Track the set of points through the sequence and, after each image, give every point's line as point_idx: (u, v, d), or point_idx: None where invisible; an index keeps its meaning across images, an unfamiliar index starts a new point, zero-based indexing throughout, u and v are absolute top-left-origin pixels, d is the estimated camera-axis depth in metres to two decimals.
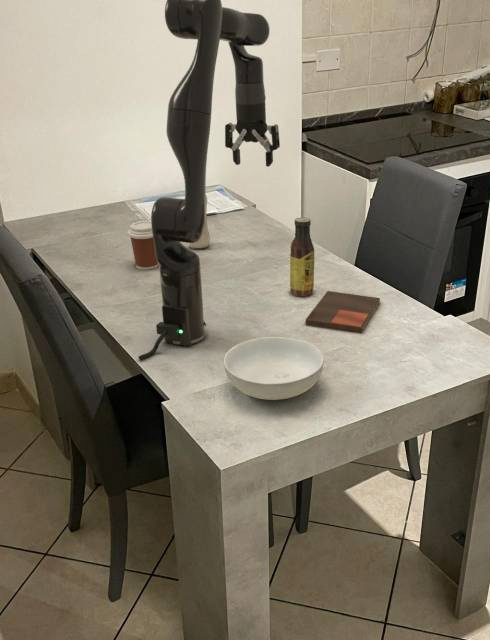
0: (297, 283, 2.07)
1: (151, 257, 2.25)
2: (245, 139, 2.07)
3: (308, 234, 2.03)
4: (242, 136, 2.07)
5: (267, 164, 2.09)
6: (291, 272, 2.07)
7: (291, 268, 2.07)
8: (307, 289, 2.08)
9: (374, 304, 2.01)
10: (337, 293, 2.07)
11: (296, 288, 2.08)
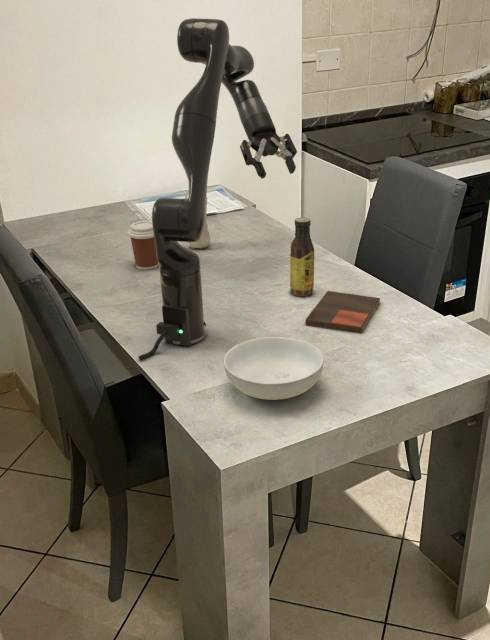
0: (297, 283, 2.07)
1: (151, 257, 2.25)
2: (265, 150, 2.05)
3: (308, 234, 2.03)
4: (263, 145, 2.04)
5: (293, 167, 2.07)
6: (291, 272, 2.07)
7: (291, 268, 2.07)
8: (307, 289, 2.08)
9: (374, 304, 2.01)
10: (337, 293, 2.07)
11: (296, 288, 2.08)
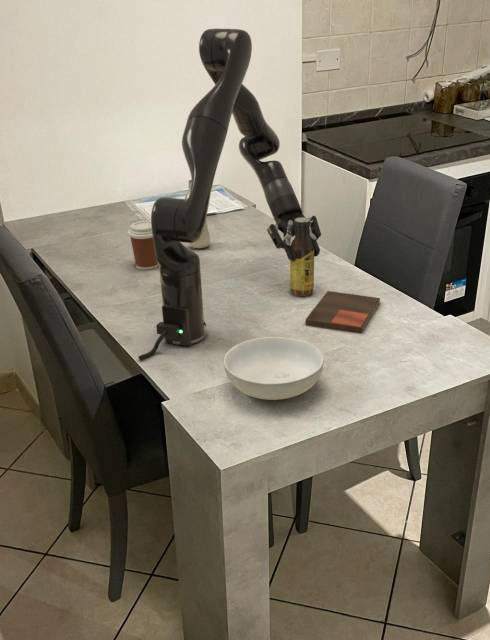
0: (297, 283, 2.07)
1: (151, 257, 2.25)
2: (293, 231, 2.05)
3: (308, 234, 2.02)
4: (290, 228, 2.04)
5: (318, 251, 2.06)
6: (291, 272, 2.07)
7: (291, 268, 2.07)
8: (307, 289, 2.08)
9: (374, 304, 2.01)
10: (337, 293, 2.07)
11: (296, 288, 2.08)
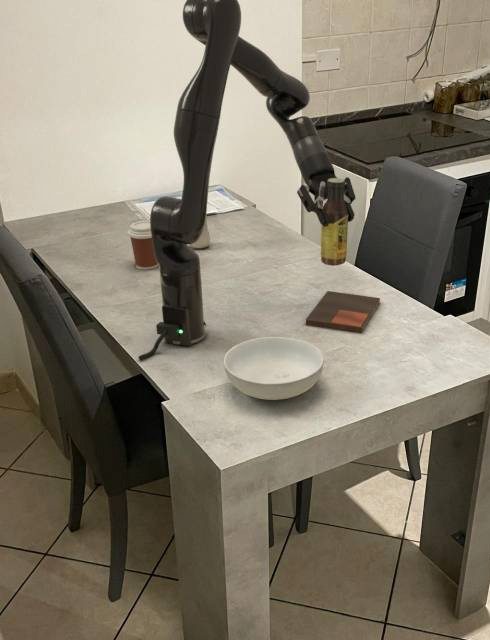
0: (329, 251, 1.89)
1: (151, 257, 2.25)
2: (325, 193, 1.87)
3: (342, 196, 1.85)
4: (323, 189, 1.86)
5: (352, 215, 1.88)
6: (322, 239, 1.89)
7: (322, 234, 1.89)
8: (340, 257, 1.90)
9: (374, 304, 2.01)
10: (337, 293, 2.07)
11: (328, 256, 1.90)
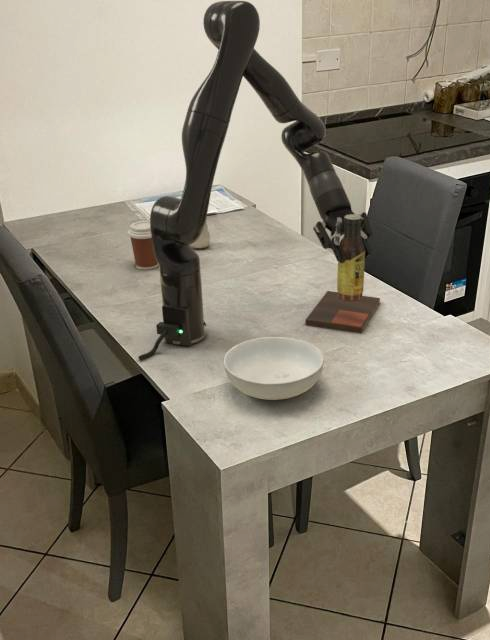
0: (346, 287, 1.87)
1: (151, 257, 2.25)
2: (342, 229, 1.85)
3: (359, 233, 1.83)
4: (339, 226, 1.84)
5: (369, 251, 1.86)
6: (339, 275, 1.87)
7: (339, 270, 1.87)
8: (356, 293, 1.88)
9: (374, 304, 2.01)
10: None
11: (345, 293, 1.88)
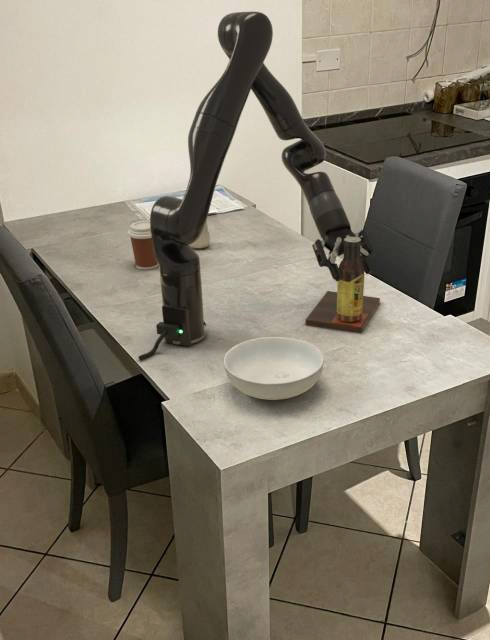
0: (345, 308, 1.90)
1: (151, 257, 2.25)
2: (340, 249, 1.87)
3: (358, 255, 1.86)
4: (338, 245, 1.86)
5: (370, 268, 1.88)
6: (338, 296, 1.90)
7: (339, 292, 1.90)
8: (356, 314, 1.91)
9: (374, 304, 2.01)
10: None
11: (344, 314, 1.91)
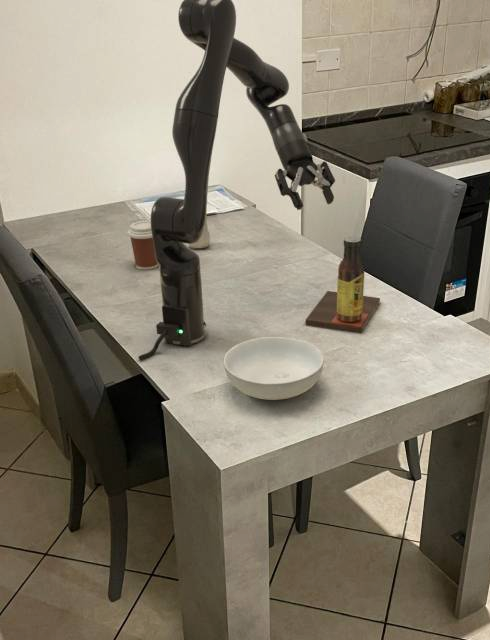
0: (345, 308, 1.90)
1: (151, 257, 2.25)
2: (302, 179, 1.92)
3: (358, 255, 1.86)
4: (299, 175, 1.91)
5: (331, 197, 1.93)
6: (338, 296, 1.90)
7: (339, 292, 1.90)
8: (356, 314, 1.91)
9: (374, 304, 2.01)
10: None
11: (344, 314, 1.91)
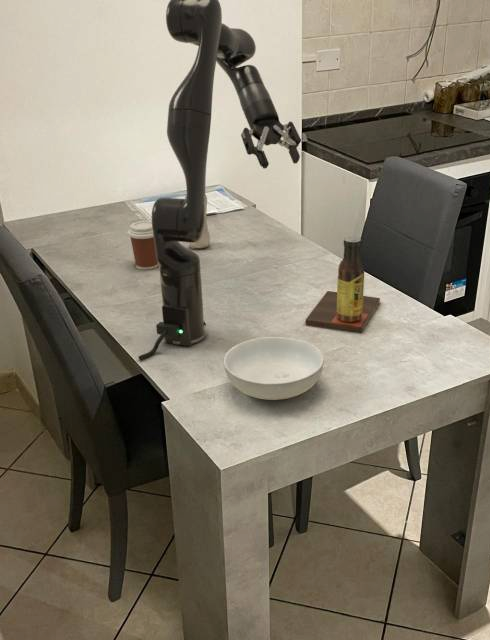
0: (345, 308, 1.90)
1: (151, 257, 2.25)
2: (268, 138, 1.95)
3: (358, 255, 1.86)
4: (265, 134, 1.94)
5: (297, 157, 1.96)
6: (338, 296, 1.90)
7: (339, 292, 1.90)
8: (356, 314, 1.91)
9: (374, 304, 2.01)
10: None
11: (344, 314, 1.91)
